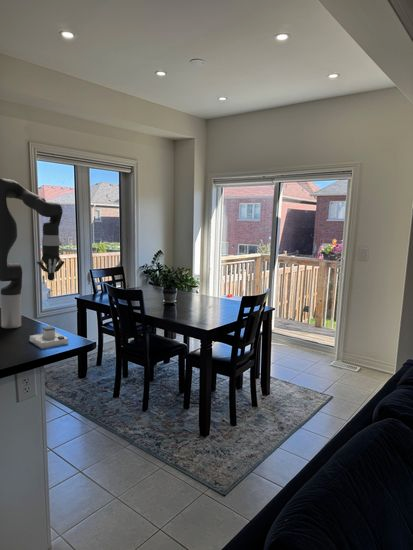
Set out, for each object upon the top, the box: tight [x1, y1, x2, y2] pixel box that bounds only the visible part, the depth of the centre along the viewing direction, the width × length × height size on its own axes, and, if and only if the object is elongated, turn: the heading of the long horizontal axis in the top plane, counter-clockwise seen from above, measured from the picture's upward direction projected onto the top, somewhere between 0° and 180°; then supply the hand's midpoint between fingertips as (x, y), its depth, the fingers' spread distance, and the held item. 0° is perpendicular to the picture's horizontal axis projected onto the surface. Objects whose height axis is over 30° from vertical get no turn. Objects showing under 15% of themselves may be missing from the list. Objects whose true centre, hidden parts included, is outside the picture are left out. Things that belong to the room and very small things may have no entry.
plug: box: [42, 325, 56, 340], centre depth 174 cm, size 4×4×7 cm
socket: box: [29, 331, 69, 350], centre depth 174 cm, size 14×12×3 cm
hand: (50, 280), depth 184 cm, fingers closed
